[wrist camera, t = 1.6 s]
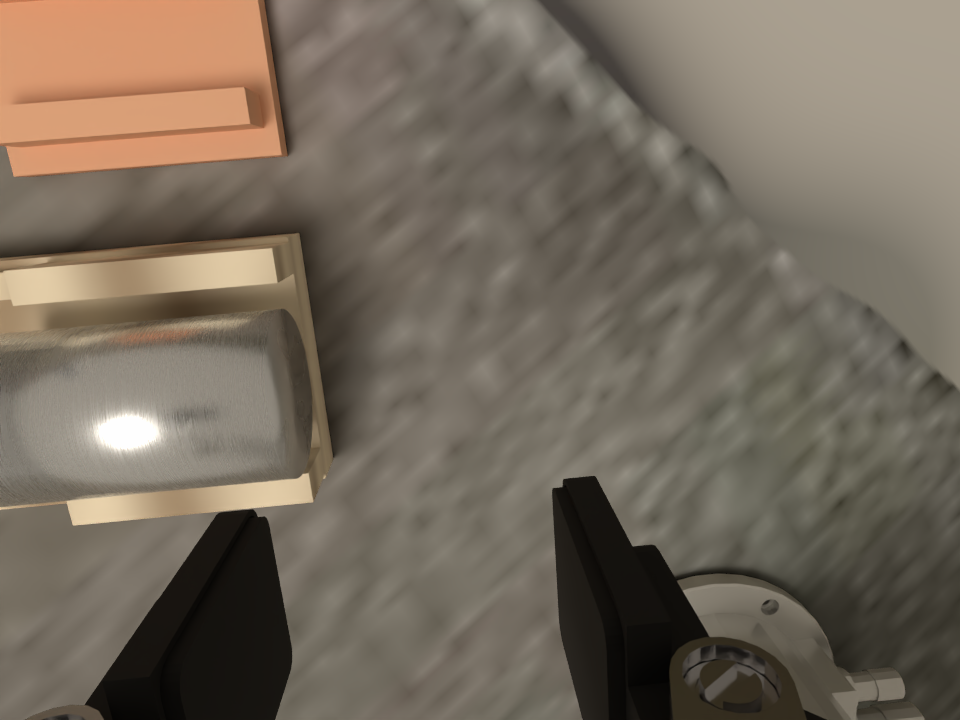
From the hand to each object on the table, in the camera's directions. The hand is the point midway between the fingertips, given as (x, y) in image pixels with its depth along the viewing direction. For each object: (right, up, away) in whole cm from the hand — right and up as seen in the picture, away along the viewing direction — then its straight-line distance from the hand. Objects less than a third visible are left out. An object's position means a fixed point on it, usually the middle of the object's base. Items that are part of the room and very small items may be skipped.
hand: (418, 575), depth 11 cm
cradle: (-12, +15, +13) cm, 23 cm away
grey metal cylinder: (-11, +3, +14) cm, 18 cm away
